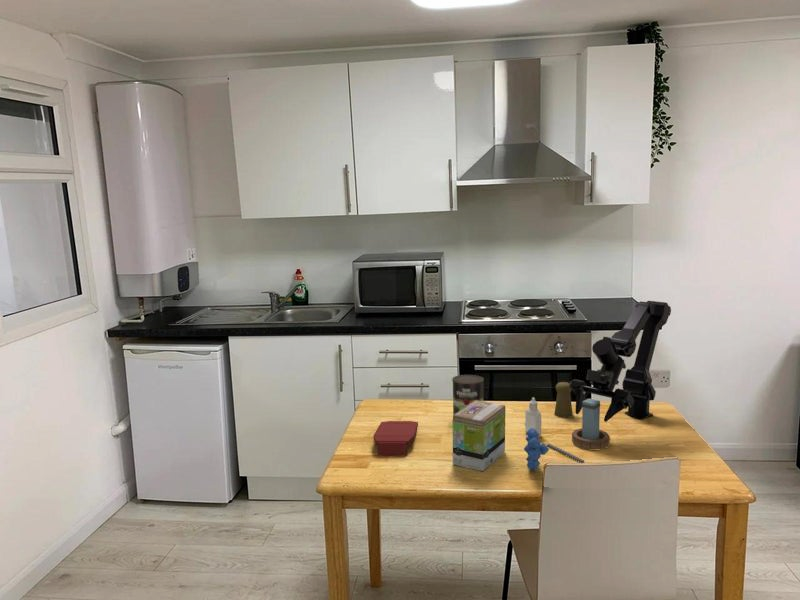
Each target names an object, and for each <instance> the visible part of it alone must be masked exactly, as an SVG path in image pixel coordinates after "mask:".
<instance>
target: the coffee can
mask: <svg viewBox="0 0 800 600" xmlns="http://www.w3.org/2000/svg"><path fill="white" fill-rule="evenodd" d="M451 381H452V407H453V408H452V411H453V412H452V416H453V415H454V414H455V413H457V412H459V411H460V410H462V409H463V408H465V407H466V406H468V405H469V404H471V403H472V402H474V401H475V400H477V401H483V402H484V382H485V380H484V377H483V376H479V375H476V374H460V375H456V376H453V377H452V380H451Z"/></svg>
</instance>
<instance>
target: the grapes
mask: <svg viewBox="0 0 800 600" xmlns="http://www.w3.org/2000/svg"><path fill="white" fill-rule="evenodd" d="M525 434H526V438H525V440H526V443H527V444H526V445H525V446H524V448H523V450H524V451H525V453H526V454H527V457H526V458H525V460H526V461H527V463H526V466H527V468H529V470H531V471H535V470H537V468H538V467H539V466H540V464H541V463H540V461H539V459H540V458H541V456H543V455H546V454H547V453H548V452H549V450H550V448H549V447H547V444H544V443H541V441H540V440H539V439H538V438H540V437H539V433H538V432H537V431H536V430H535V429H534V428H531V429H529V430H528V431H527V433H526V432H525Z"/></svg>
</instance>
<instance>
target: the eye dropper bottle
mask: <svg viewBox="0 0 800 600" xmlns="http://www.w3.org/2000/svg"><path fill="white" fill-rule="evenodd" d="M528 403H529V404H528V405H529V406H528V408H526V410H525V413H524V414H525V416H524V419H525V423H524V424H525V430H524V432H525V434H526V433H527V431H528V430H529V429H531V428H534V429H535V430H536V431H537V432H538V433H539V437H538V438H540V437H542V413H541V411H540V410H539V408H538V401H536V398H535V397H532V398H531V400H530V401H529V402H528Z"/></svg>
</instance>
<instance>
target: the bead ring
mask: <svg viewBox="0 0 800 600" xmlns="http://www.w3.org/2000/svg"><path fill="white" fill-rule="evenodd" d="M610 439H611V438H610V434H609V433H608V432H606V431H604V430H601V429H599V440H587V439H583V438H582V428H578V429H574V430H573V432H571V442H572V444H573V445H574V446H575V445H576V447H577V446H578V448H580V449H583V448H584V449H583V450H588V449H601V450H603V449H602V448H604V449H607V448H608V447H609V446H610V442H611V441H610ZM608 445H609V446H608ZM606 447H607V448H606Z"/></svg>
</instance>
